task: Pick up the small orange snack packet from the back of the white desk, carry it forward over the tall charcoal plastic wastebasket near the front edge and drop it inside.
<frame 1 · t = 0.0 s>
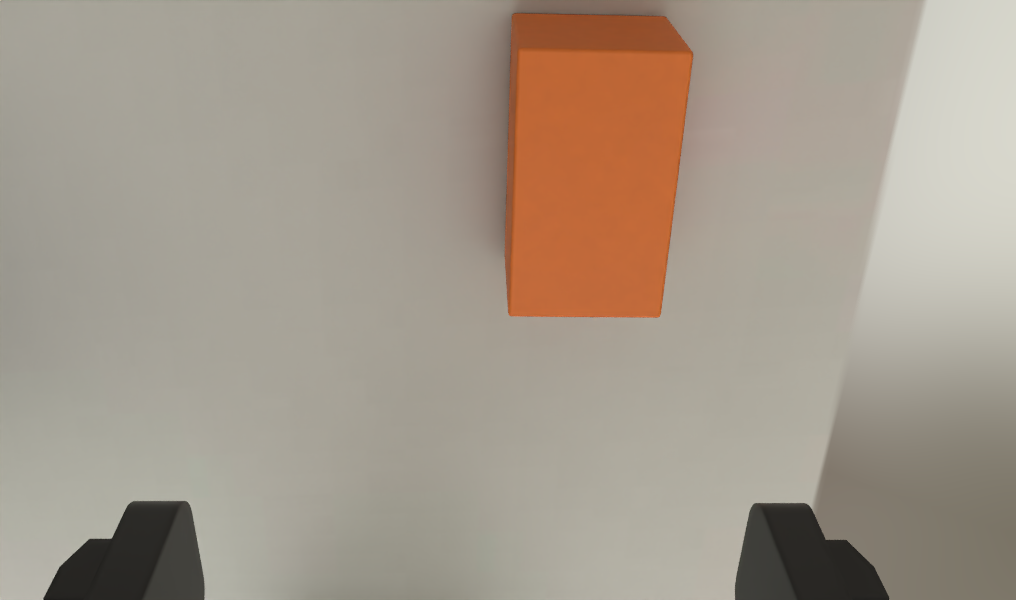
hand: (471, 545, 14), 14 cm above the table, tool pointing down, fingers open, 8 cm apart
packet: (580, 143, 26), on the table
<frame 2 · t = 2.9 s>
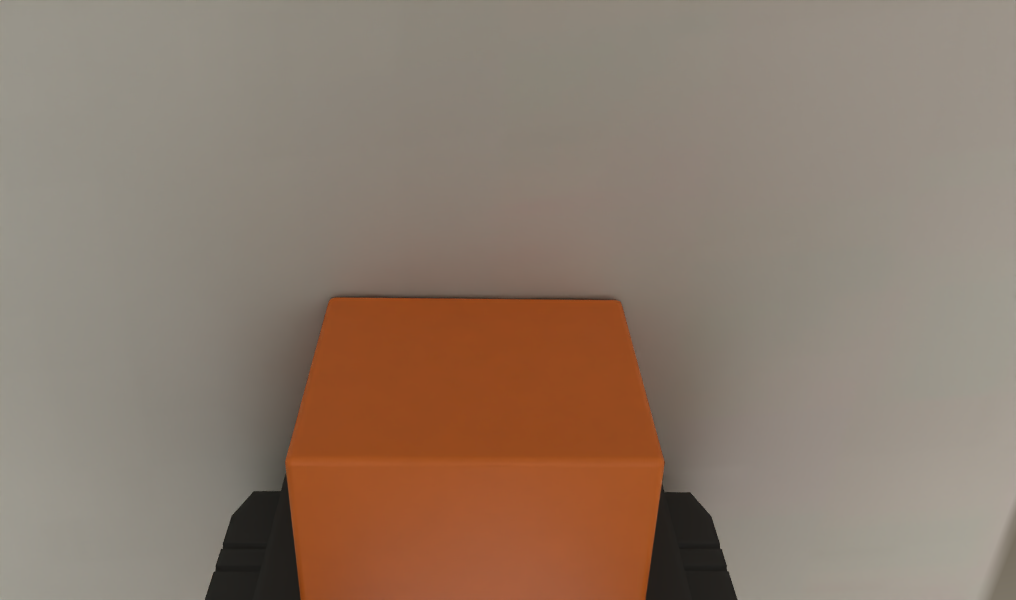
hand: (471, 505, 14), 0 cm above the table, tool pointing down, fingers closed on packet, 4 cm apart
packet: (473, 493, 15), on the table, touching gripper
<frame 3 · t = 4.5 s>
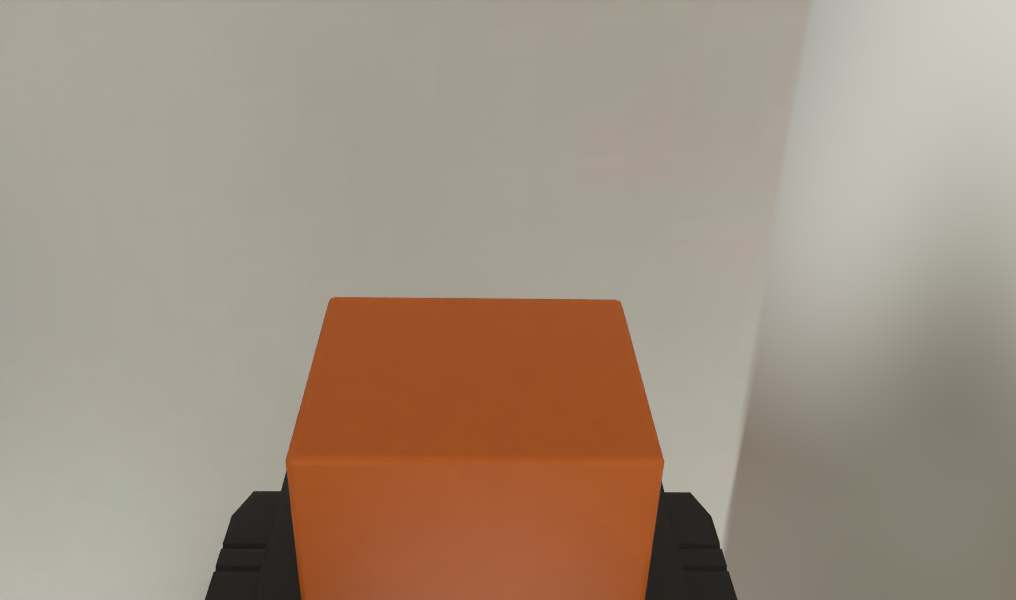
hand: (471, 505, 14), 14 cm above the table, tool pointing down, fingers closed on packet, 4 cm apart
packet: (473, 492, 15), point 14 cm above the table, touching gripper
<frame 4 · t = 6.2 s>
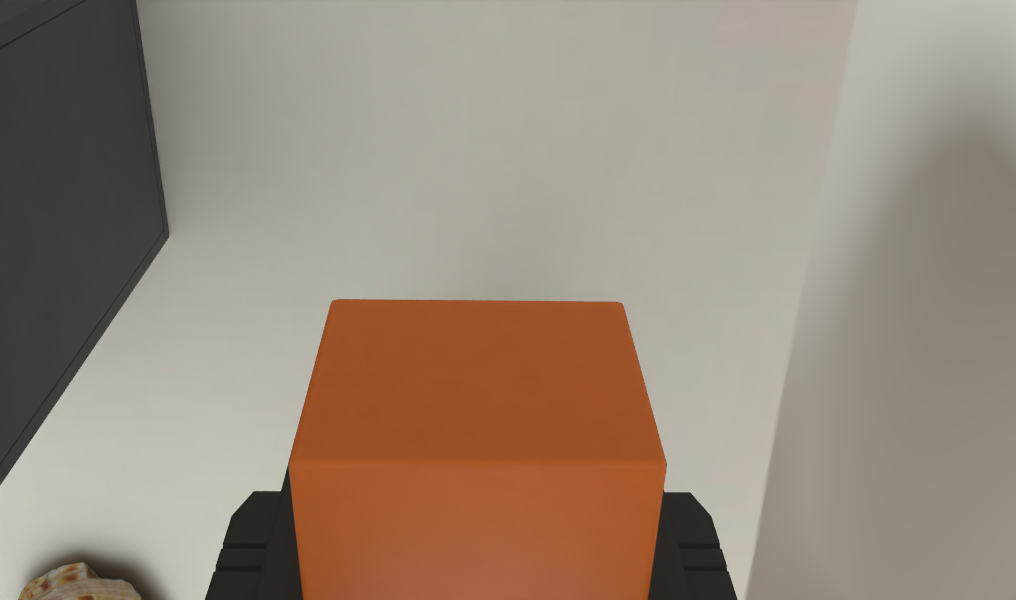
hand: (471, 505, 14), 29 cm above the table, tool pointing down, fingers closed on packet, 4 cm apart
wastebasket: (5, 102, 40), on the table
packet: (475, 494, 15), point 28 cm above the table, touching gripper
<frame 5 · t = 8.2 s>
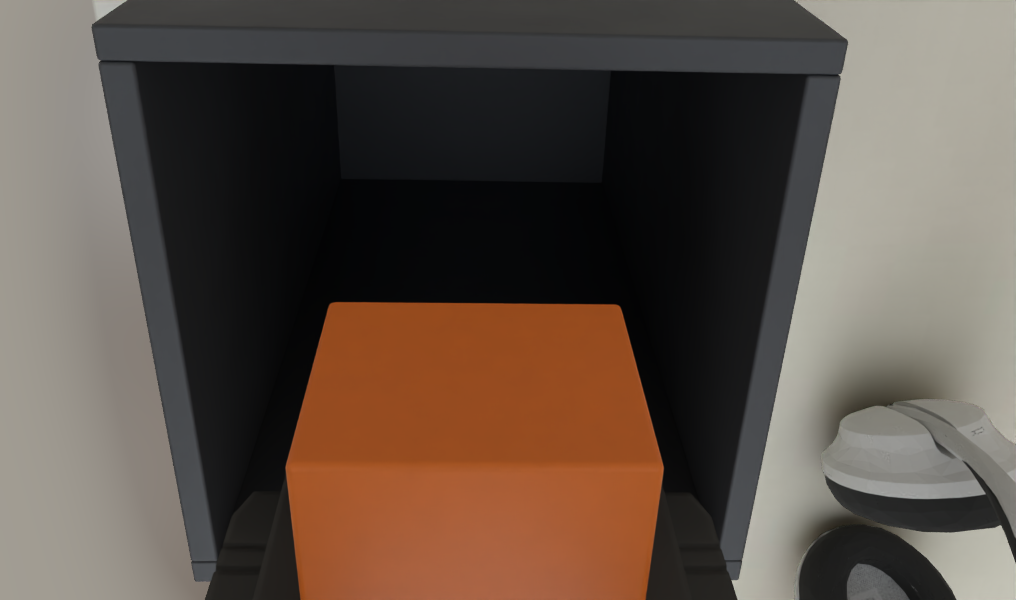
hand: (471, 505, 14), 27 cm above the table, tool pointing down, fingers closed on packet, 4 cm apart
headphones: (864, 487, 50), on the table
wastebasket: (473, 46, 38), on the table
packet: (473, 496, 15), point 27 cm above the table, touching gripper
when the fingers open (23 cm above the table, at t = 9.7 s): packet drops 22 cm, resting on wastebasket.
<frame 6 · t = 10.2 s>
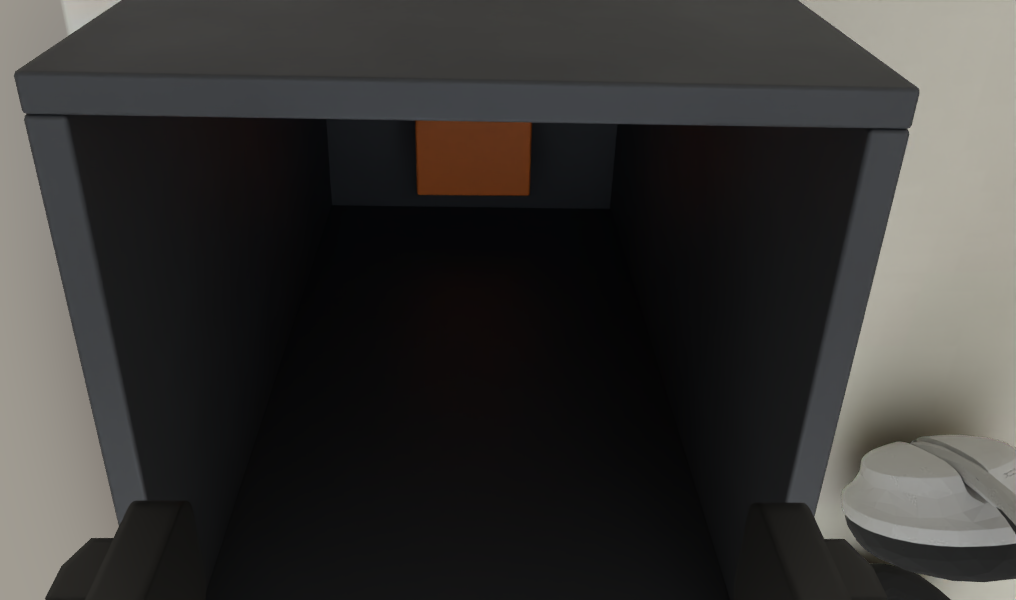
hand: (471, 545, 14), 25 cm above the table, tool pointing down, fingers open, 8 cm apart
headphones: (885, 524, 48), on the table
wastebasket: (473, 65, 35), on the table
packet: (473, 70, 35), point 1 cm above the table, touching wastebasket
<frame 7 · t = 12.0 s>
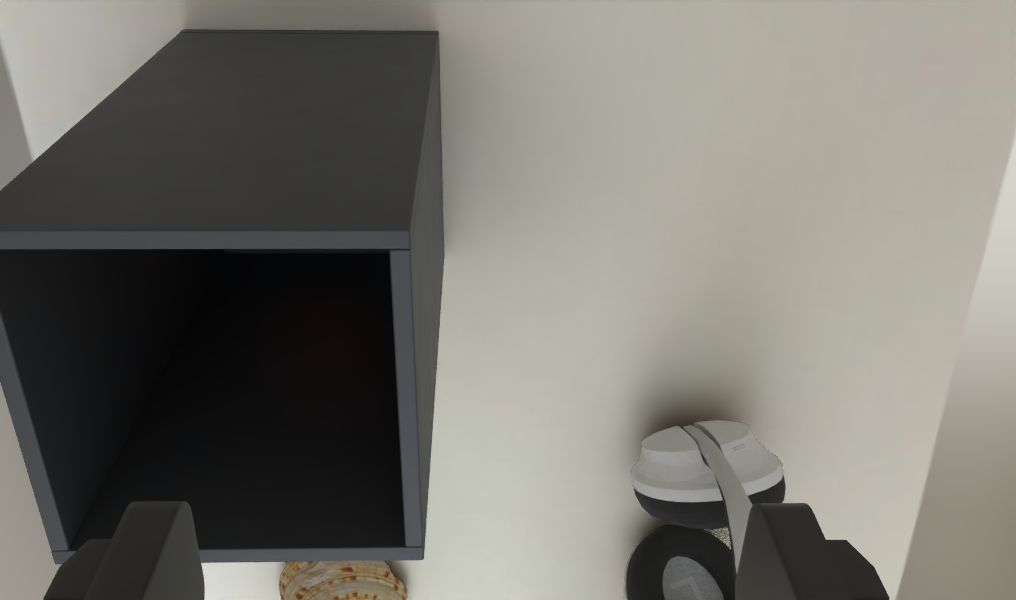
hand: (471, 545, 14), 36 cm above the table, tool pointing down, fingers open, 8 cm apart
headphones: (683, 492, 60), on the table
wastebasket: (321, 151, 48), on the table
seashell: (344, 576, 63), on the table
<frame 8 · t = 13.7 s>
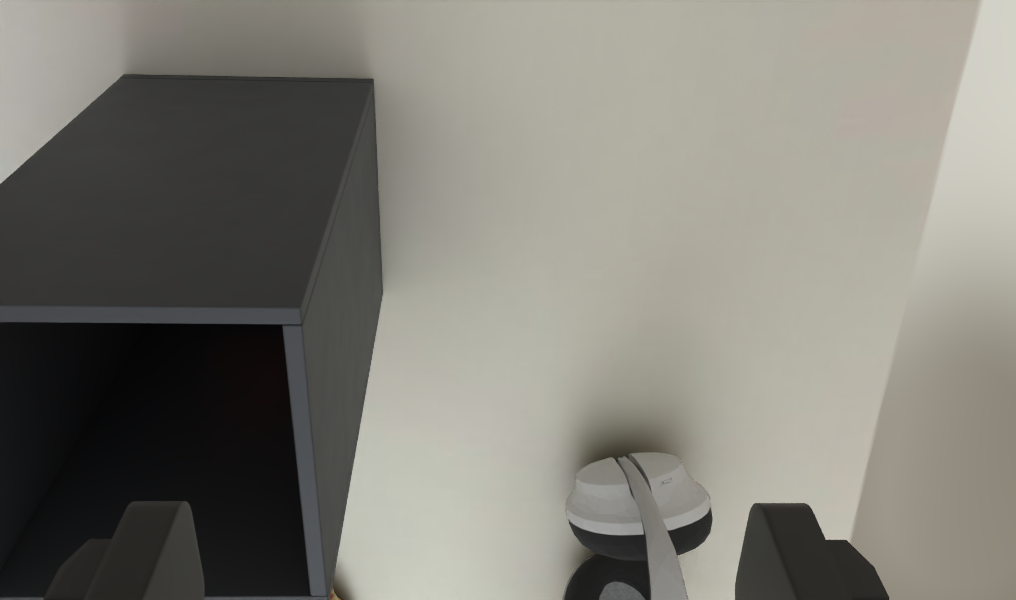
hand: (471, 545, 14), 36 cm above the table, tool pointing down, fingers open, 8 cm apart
headphones: (621, 519, 62), on the table
wastebasket: (261, 191, 49), on the table
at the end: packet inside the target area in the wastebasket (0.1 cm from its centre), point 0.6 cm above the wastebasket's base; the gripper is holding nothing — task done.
